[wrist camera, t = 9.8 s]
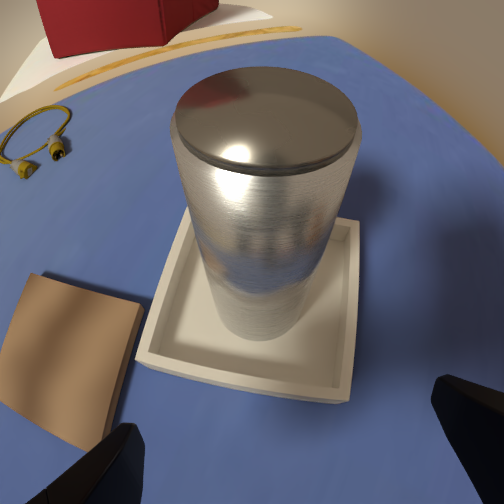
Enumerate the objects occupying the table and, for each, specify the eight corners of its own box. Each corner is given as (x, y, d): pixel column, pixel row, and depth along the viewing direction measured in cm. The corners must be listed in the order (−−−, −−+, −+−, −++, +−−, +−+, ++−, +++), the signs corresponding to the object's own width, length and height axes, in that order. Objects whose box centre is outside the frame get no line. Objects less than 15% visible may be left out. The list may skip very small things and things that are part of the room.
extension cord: (-16, 204, 25) (-25, 193, 24) (13, 127, 33) (8, 117, 31) (66, 168, 27) (59, 154, 25) (82, 97, 35) (78, 86, 33)
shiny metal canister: (317, 289, 19) (387, 102, 8) (271, 358, 17) (308, 209, 6) (248, 247, 21) (244, 53, 9) (198, 308, 18) (128, 124, 7)
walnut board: (144, 309, 19) (139, 303, 18) (105, 455, 14) (97, 456, 13) (37, 278, 20) (30, 272, 19) (-3, 395, 15) (-11, 393, 14)
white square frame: (349, 242, 22) (359, 221, 20) (336, 404, 16) (349, 400, 14) (196, 217, 23) (191, 195, 21) (148, 368, 17) (134, 359, 15)
